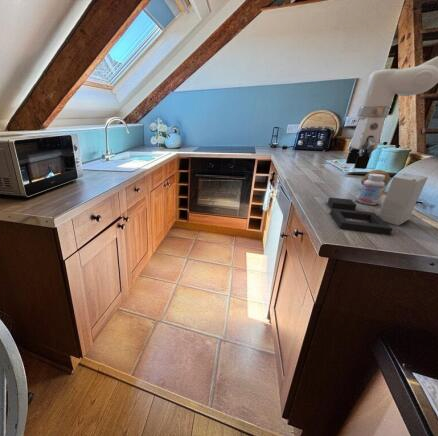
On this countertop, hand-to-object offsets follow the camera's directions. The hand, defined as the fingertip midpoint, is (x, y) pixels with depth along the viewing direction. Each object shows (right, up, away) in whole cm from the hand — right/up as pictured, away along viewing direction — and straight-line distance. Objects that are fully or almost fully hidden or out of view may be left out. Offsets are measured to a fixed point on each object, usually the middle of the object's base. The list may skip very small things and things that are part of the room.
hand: (355, 166), depth 86 cm
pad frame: (-5, -20, -7) cm, 22 cm away
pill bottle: (+14, -13, +11) cm, 22 cm away
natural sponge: (+29, -6, +25) cm, 39 cm away
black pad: (0, -14, +7) cm, 16 cm away
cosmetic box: (+8, -19, -5) cm, 22 cm away
